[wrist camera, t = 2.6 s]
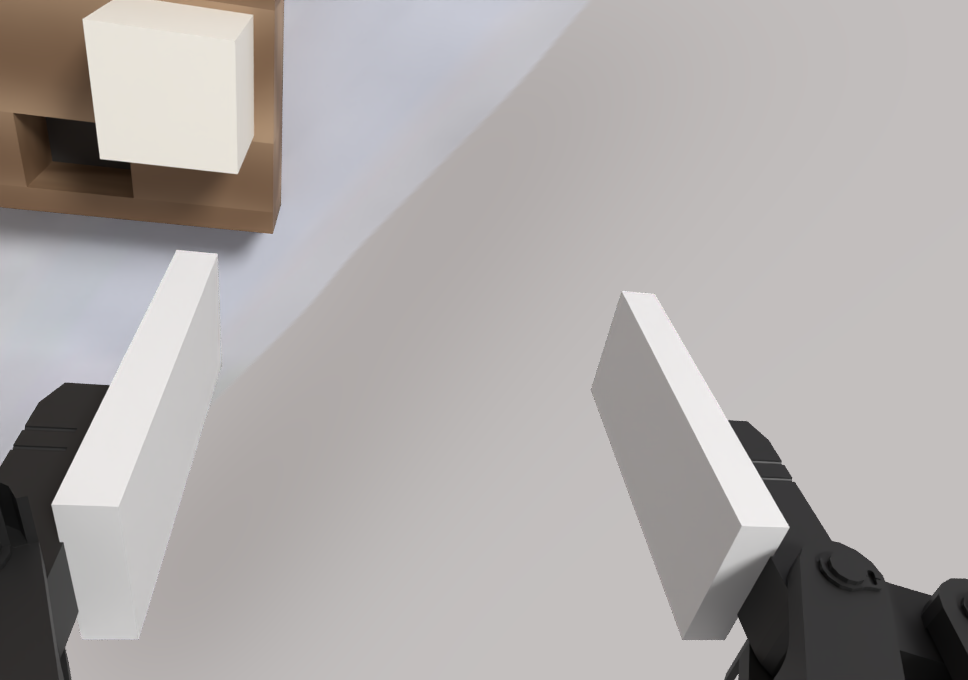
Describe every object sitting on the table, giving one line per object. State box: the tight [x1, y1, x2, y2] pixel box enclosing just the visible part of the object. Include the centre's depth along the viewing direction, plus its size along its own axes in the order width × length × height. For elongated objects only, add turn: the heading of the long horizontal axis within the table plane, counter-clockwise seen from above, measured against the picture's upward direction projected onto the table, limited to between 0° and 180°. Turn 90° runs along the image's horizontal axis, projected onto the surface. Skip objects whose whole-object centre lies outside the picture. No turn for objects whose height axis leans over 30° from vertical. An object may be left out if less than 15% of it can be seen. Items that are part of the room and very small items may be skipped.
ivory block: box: [82, 0, 254, 174], centre depth 26 cm, size 4×4×4 cm
